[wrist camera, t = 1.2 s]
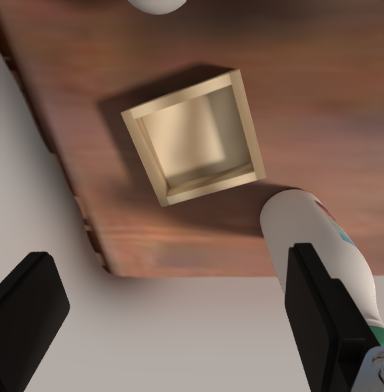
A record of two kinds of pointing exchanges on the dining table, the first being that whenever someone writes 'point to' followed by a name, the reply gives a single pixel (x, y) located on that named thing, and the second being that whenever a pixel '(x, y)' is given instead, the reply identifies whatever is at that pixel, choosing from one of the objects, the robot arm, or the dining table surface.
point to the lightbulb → (157, 5)
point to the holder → (197, 139)
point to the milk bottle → (319, 247)
